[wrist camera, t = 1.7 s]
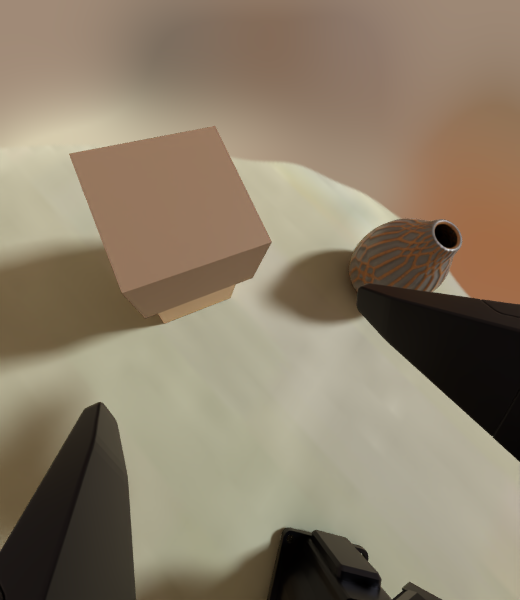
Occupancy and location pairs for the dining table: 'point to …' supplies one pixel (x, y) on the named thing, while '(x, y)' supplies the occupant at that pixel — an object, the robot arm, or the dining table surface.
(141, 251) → the lid
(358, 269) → the vase
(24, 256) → the dining table surface
